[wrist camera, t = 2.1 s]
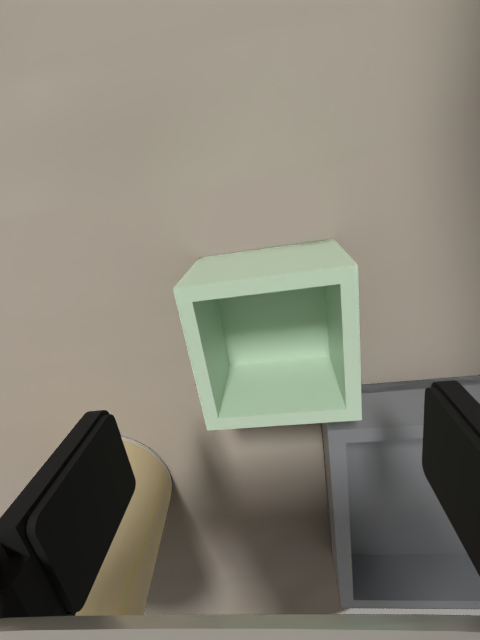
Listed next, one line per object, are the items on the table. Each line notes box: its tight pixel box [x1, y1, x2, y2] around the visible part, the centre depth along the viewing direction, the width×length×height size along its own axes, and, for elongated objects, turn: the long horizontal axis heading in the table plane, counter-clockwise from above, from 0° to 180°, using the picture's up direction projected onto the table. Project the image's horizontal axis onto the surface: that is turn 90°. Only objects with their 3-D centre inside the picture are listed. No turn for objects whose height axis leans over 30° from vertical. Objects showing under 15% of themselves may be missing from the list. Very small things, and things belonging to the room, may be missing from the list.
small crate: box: [173, 239, 362, 430], centre depth 15 cm, size 6×6×5 cm
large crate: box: [321, 375, 480, 609], centre depth 19 cm, size 14×14×4 cm
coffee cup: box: [75, 436, 172, 616], centre depth 18 cm, size 9×9×12 cm
